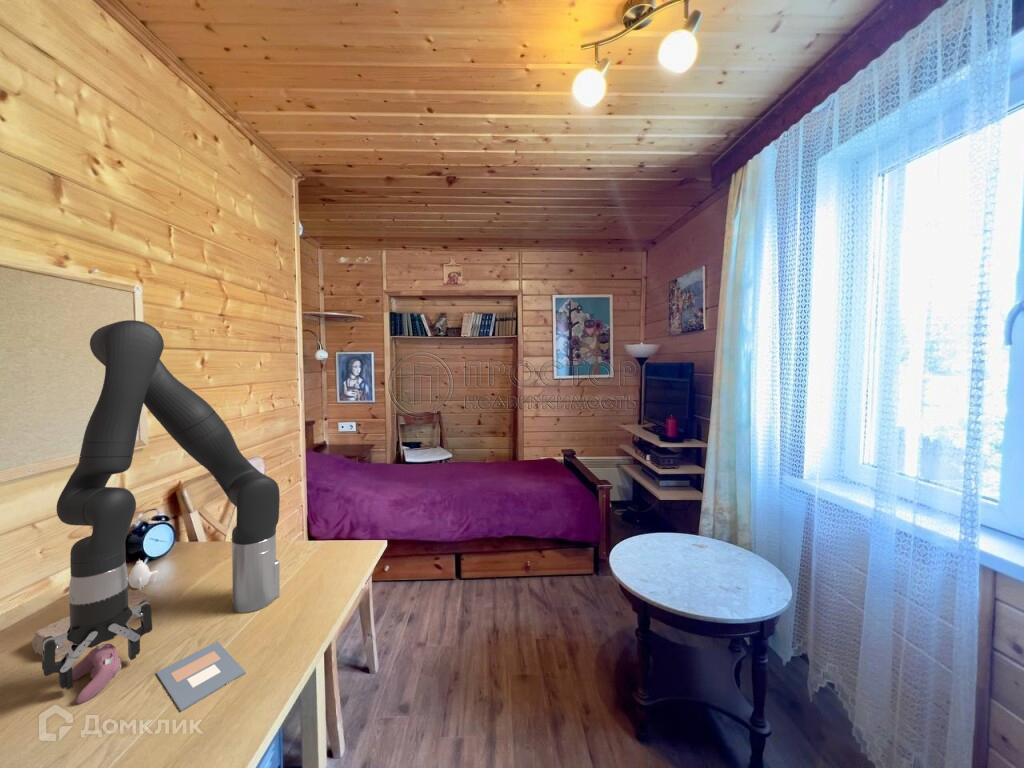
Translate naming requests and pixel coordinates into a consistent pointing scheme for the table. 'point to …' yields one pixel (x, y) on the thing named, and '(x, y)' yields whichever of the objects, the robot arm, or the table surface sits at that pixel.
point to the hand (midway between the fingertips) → (101, 671)
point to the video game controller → (97, 670)
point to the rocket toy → (141, 575)
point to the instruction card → (199, 675)
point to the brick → (64, 625)
